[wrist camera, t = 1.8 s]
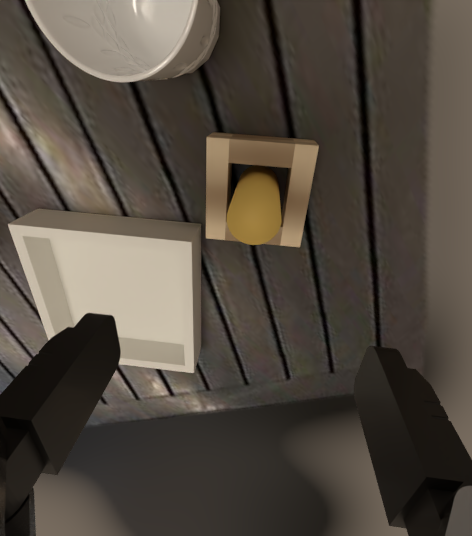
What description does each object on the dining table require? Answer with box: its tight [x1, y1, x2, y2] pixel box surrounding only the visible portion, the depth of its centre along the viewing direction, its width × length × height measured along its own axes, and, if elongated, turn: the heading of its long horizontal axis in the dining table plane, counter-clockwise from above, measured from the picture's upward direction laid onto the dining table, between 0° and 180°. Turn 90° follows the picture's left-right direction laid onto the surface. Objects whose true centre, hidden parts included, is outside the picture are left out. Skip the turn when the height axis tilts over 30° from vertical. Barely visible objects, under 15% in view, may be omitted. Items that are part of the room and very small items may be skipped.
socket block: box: [206, 132, 319, 247], centre depth 25 cm, size 8×8×3 cm
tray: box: [8, 208, 201, 373], centre depth 31 cm, size 16×16×4 cm
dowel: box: [227, 165, 282, 245], centre depth 23 cm, size 4×4×8 cm
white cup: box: [25, 0, 220, 82], centre depth 17 cm, size 8×8×10 cm
